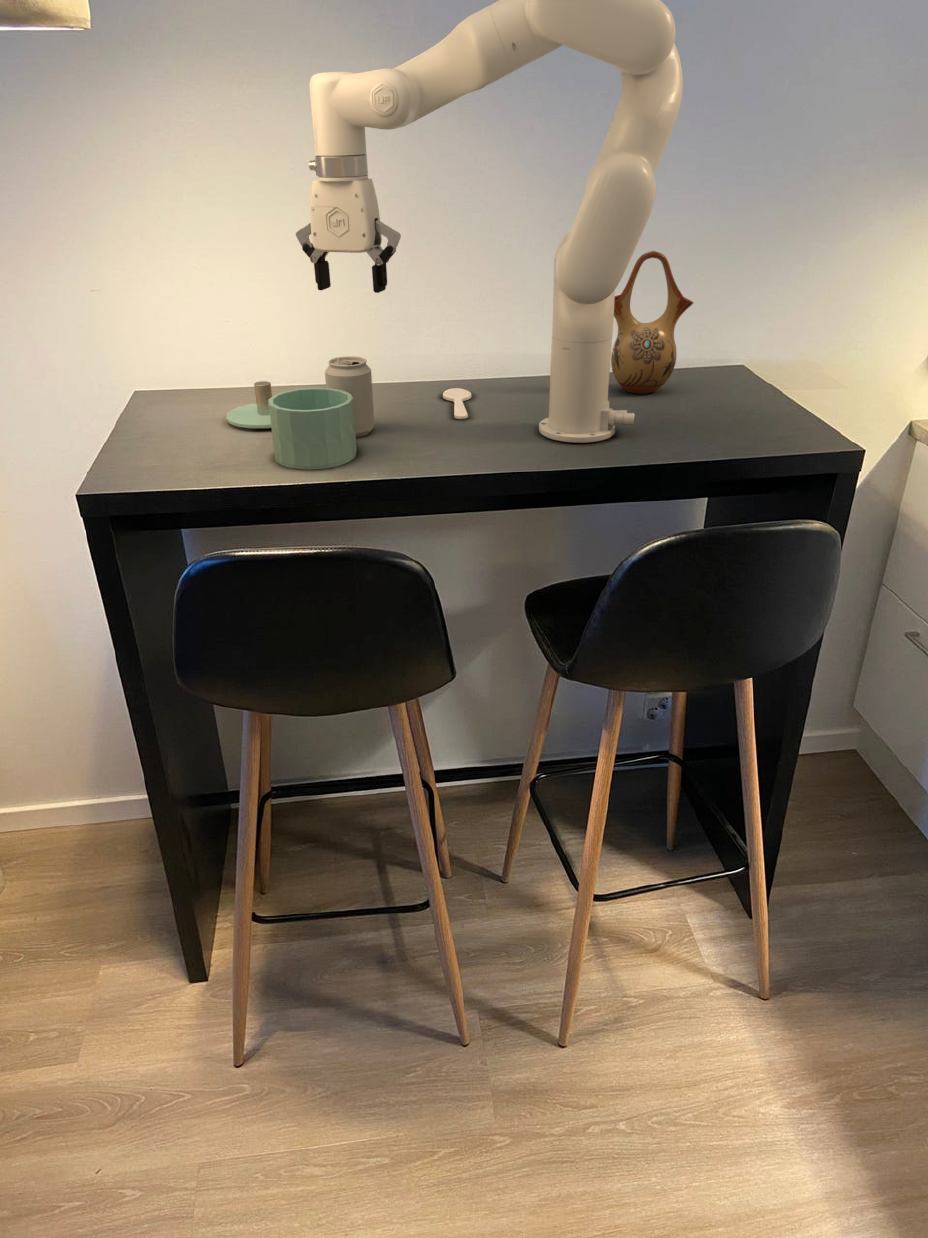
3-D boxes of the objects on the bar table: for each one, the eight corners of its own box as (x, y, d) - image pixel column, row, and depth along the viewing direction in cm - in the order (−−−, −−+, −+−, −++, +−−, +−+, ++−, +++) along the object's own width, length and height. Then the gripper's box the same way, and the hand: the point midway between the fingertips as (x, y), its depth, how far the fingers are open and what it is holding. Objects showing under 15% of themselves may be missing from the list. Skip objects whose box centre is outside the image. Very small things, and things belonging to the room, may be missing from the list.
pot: (364, 444, 148) (361, 388, 143) (344, 471, 137) (339, 412, 132) (289, 441, 149) (284, 386, 145) (263, 467, 138) (256, 409, 134)
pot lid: (315, 409, 164) (312, 374, 161) (291, 433, 153) (288, 395, 150) (243, 406, 166) (238, 371, 163) (214, 430, 154) (209, 392, 151)
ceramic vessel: (677, 383, 177) (692, 246, 165) (689, 397, 170) (706, 253, 157) (593, 385, 177) (602, 247, 164) (602, 399, 169) (612, 255, 156)
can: (367, 440, 149) (362, 366, 143) (323, 437, 151) (317, 364, 145) (380, 426, 156) (376, 355, 150) (338, 423, 157) (332, 353, 151)
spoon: (446, 419, 158) (446, 416, 158) (441, 390, 174) (441, 387, 174) (476, 418, 159) (476, 415, 158) (469, 390, 174) (469, 387, 174)
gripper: (278, 170, 135) (291, 292, 143) (385, 170, 129) (392, 296, 138) (302, 167, 141) (314, 283, 149) (405, 167, 135) (411, 287, 144)
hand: (351, 289), depth 143 cm, fingers open, 9 cm apart
